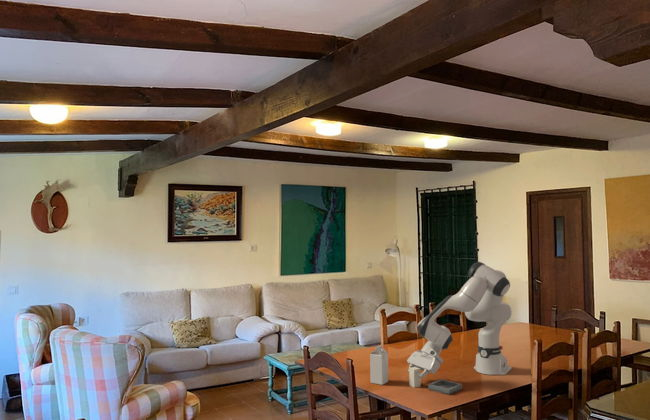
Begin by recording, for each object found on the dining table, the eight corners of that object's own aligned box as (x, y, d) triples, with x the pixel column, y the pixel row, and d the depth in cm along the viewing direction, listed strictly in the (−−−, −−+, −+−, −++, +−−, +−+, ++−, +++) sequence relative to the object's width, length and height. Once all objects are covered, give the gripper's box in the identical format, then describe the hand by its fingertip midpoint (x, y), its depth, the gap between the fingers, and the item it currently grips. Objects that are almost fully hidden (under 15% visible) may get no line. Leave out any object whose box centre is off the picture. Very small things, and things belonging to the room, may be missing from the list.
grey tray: (441, 384, 254) (441, 379, 254) (462, 389, 246) (461, 384, 246) (428, 389, 246) (428, 384, 246) (449, 394, 237) (448, 389, 237)
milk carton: (370, 383, 257) (369, 346, 258) (376, 379, 263) (376, 343, 264) (382, 385, 253) (381, 348, 254) (388, 381, 259) (387, 345, 260)
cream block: (415, 384, 254) (415, 366, 255) (420, 386, 251) (420, 368, 251) (409, 385, 253) (409, 367, 253) (414, 387, 249) (413, 369, 249)
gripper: (413, 345, 265) (399, 366, 260) (438, 353, 247) (423, 376, 242) (420, 353, 267) (406, 373, 262) (445, 361, 248) (430, 384, 243)
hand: (414, 375), depth 251 cm, fingers open, 8 cm apart
